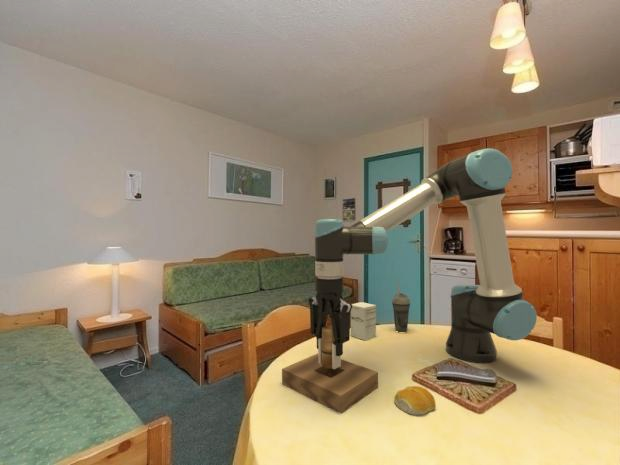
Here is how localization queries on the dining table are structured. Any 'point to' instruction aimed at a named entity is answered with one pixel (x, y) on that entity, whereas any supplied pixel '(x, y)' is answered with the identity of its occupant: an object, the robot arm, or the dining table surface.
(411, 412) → the bread roll
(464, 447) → the dining table surface
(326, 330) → the dowel
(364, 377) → the board
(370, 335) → the supplement box
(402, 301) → the beverage cup
